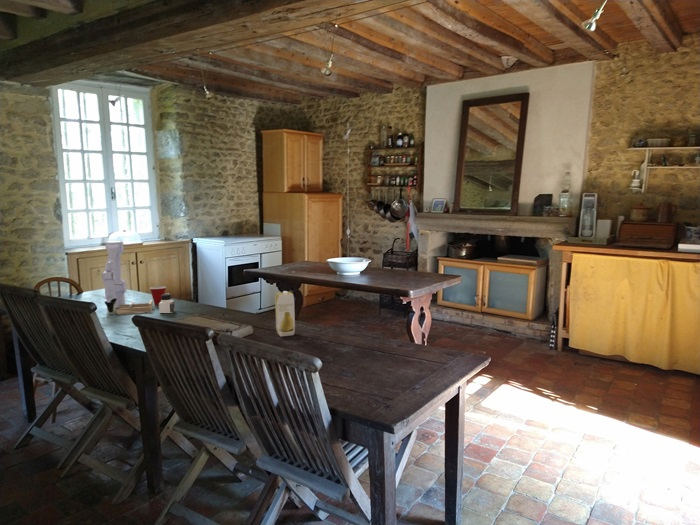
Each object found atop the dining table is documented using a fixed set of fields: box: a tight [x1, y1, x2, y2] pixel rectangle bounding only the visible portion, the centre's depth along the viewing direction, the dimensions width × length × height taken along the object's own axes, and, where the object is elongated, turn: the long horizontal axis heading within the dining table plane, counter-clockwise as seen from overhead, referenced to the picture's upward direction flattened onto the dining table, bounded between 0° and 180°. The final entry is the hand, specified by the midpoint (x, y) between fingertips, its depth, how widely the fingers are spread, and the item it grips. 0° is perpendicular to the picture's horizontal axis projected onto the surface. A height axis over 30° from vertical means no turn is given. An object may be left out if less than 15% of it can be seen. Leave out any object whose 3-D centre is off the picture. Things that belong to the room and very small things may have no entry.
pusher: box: [128, 300, 135, 308], centre depth 314 cm, size 9×1×5 cm, turn 16°
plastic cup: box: [149, 285, 167, 306], centre depth 333 cm, size 11×11×12 cm
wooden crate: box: [116, 299, 154, 316], centre depth 314 cm, size 12×20×6 cm, turn 106°
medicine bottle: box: [158, 293, 175, 314], centre depth 310 cm, size 7×7×12 cm
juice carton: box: [274, 290, 296, 337], centre depth 262 cm, size 9×8×24 cm
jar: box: [106, 302, 117, 315], centre depth 309 cm, size 5×5×7 cm
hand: (111, 311), depth 309 cm, fingers closed on jar, 5 cm apart
